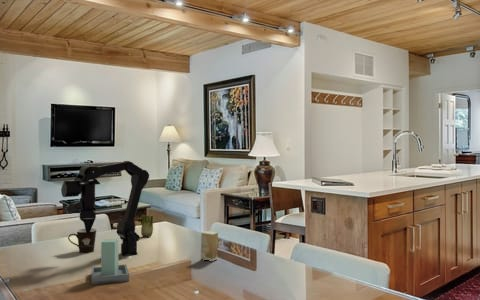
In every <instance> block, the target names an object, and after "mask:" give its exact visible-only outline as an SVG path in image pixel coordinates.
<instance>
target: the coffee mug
mask: <svg viewBox="0 0 480 300" xmlns="http://www.w3.org/2000/svg"><path fill="white" fill-rule="evenodd" d="M71 236H75V237H76V239H77V243H76V242H73V241H72V240H71V239H70V237H71ZM96 236H97V229H96V228H93V227H92V228H91V231H90V233H89V234H86V230H85V228H80V229H77V230H76V233H71V234H69V235H68V236H67V240H68V241H69V242H70V243H71V244H73V245H74V246H76V247H78V250H79V251H78V252H79V254H80V253H81V254H90V253H91V254H92V253H94V251H95V243H96Z"/></svg>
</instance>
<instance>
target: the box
mask: <svg viewBox="0 0 480 300" xmlns="http://www.w3.org/2000/svg"><path fill="white" fill-rule="evenodd" d="M120 282H121V283H122V282H130V272H129V269H128V265H127V264H125V263H124V264H118V274H117V275H110V276H101V266H95V267H91V286H92V285H93V286H95V285H103V284H113V283H120Z"/></svg>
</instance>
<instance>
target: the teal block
mask: <svg viewBox="0 0 480 300" xmlns="http://www.w3.org/2000/svg"><path fill="white" fill-rule="evenodd" d="M100 247H101V248H100V249H101V250H100V251H101V252H100V255H101V256H100V260H101V261H100V267H101V276H110V275H117V274H118V265H119V238H105V239H103V240H102V241H101V242H100Z"/></svg>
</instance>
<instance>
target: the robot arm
mask: <svg viewBox="0 0 480 300" xmlns="http://www.w3.org/2000/svg"><path fill="white" fill-rule="evenodd" d="M122 171H125V172H126V173H127V175H129V176H130V185H131V188H130V192H129V198H128V201H127V204H126V207H125V208H126V209H125V212H124V215H123V218H122V219H121V220H120V219H119V220H118V219H117V220H118V221H117V224H116V228H115V229H116V235H118V237H119V239H120V240H121V241H122V243H120V254H122V256H134V255H138V250H137V249H138V243H137V242H139V240H140V238H141V236H140V235H139V234H138V233H137V232H136V221H135V219H136V218H135V217H136V216H137V215H136V213H137V211H138V206H139V203H140V198H141V196H142V191H143V189H144V188H145V186H146V185H147V183H148V181H149V179H150V174H149V171H147V170H145V169H143V168H141V167H139V166H138V165H136V164H135V163H133V162H132V161H130V160H124V161H119V162H114V163H108V164H104V165H83V166H81V167H80V169H79V171H78V174H77V175H76V176H75V178H74V179H73V180H67V179H66V180H63V183H62V185H61V189H60V191H61V196H62V197H63V198H70V197H71V198H72V197H78V196H80V198H79V200H78V201H75V202H71V203H69V204H68V205H66V207H65V208H66V211H67V212H68V215H70V214H72V213H74V212H76V211H79V220H80V221H82V222H83V224H84V229H85V230H86V234H89V233H90V231H91V228H93V226H94V223H95V221H96V218H97V212H96V185H101V182H100V181H98V178H100V177H102V176H103V175H106V174H112V173H113V174H114V173H117V172H118V173H119V172H122Z"/></svg>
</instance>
